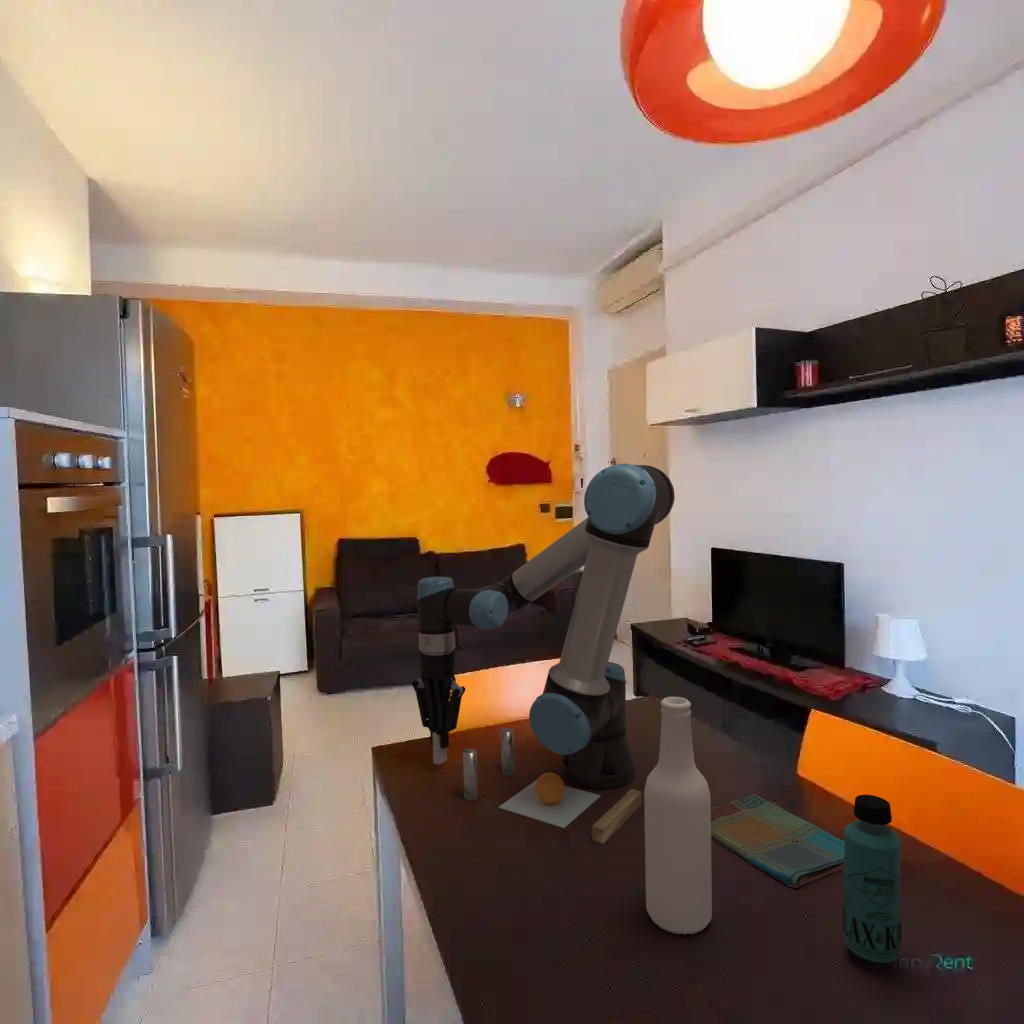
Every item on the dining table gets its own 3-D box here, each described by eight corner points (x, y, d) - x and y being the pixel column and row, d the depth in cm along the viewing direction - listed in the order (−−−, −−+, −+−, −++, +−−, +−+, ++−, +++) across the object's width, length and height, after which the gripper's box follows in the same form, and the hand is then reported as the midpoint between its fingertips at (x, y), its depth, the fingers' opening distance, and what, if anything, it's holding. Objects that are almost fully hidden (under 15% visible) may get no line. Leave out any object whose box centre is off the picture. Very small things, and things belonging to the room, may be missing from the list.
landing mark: (600, 796, 127) (600, 795, 127) (564, 828, 115) (564, 827, 115) (538, 779, 135) (538, 778, 135) (498, 808, 123) (498, 807, 123)
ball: (557, 762, 127) (540, 776, 129) (542, 773, 122) (524, 787, 125) (575, 788, 125) (556, 802, 127) (560, 800, 120) (541, 814, 123)
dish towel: (794, 897, 96) (794, 879, 96) (683, 825, 117) (682, 811, 117) (870, 863, 104) (870, 847, 104) (753, 801, 125) (753, 788, 125)
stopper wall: (641, 804, 123) (641, 791, 123) (603, 844, 110) (602, 829, 110) (631, 801, 124) (631, 788, 124) (592, 840, 111) (592, 826, 111)
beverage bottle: (831, 941, 86) (830, 789, 85) (880, 937, 86) (880, 786, 85) (862, 979, 79) (862, 814, 78) (915, 974, 80) (915, 810, 79)
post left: (480, 796, 128) (479, 750, 128) (472, 801, 126) (470, 755, 126) (469, 793, 130) (468, 747, 129) (461, 798, 127) (460, 752, 127)
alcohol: (725, 920, 90) (723, 702, 89) (681, 946, 85) (678, 716, 84) (676, 888, 97) (673, 686, 96) (632, 911, 93) (629, 699, 91)
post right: (516, 772, 138) (515, 729, 138) (509, 776, 136) (508, 733, 136) (506, 769, 140) (505, 727, 140) (499, 774, 138) (498, 731, 137)
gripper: (401, 651, 140) (405, 761, 141) (449, 659, 133) (452, 775, 133) (425, 643, 146) (428, 749, 147) (472, 650, 139) (475, 761, 140)
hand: (440, 761), depth 140 cm, fingers closed
